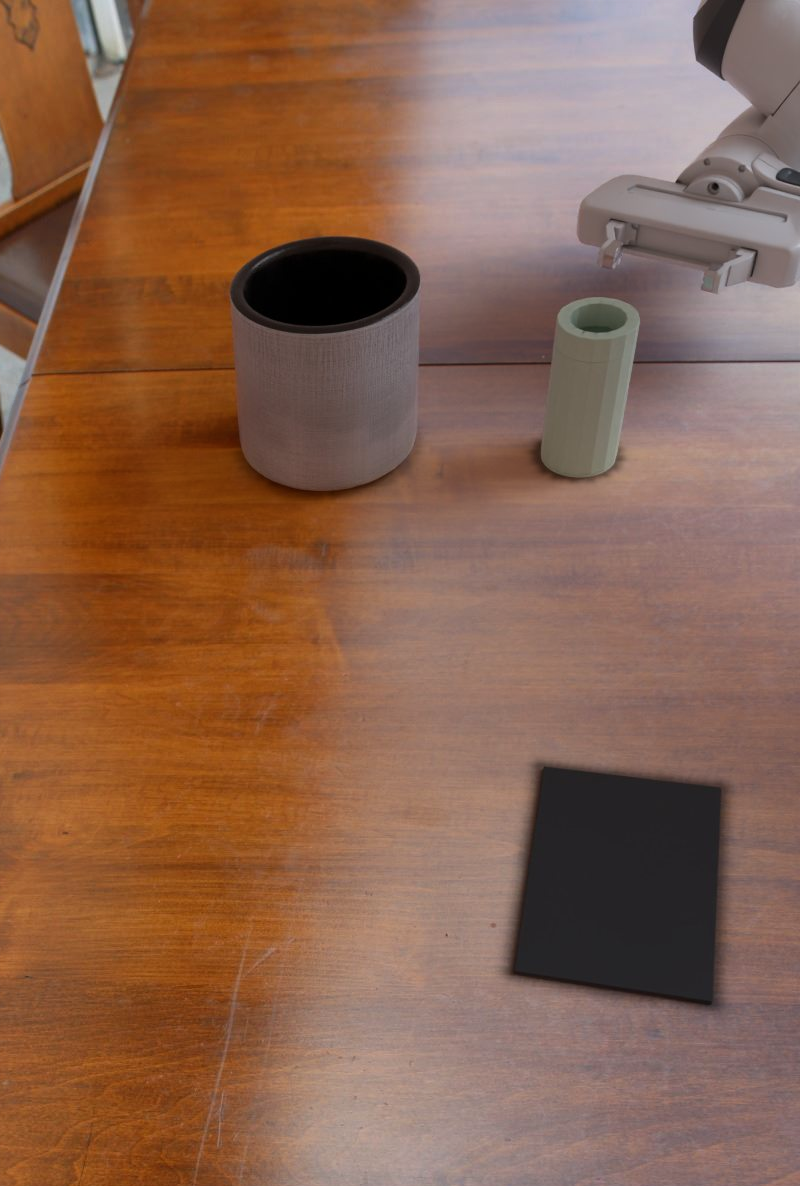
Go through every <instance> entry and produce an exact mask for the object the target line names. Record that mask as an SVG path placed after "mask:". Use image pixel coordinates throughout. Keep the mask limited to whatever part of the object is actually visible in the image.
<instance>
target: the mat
mask: <svg viewBox="0 0 800 1186" xmlns="http://www.w3.org/2000/svg"><path fill="white" fill-rule="evenodd" d="M721 802H722V787H721V786H713V785H712V786H711V785H703V784H695V783H687V782H686V783H685V782H677V781H670V780H661V779H653V778H645V777H636V776H628V775H619V774H612V773H603V772H594V771H587V770H586V771H585V770H578V769H577V770H576V769H569V768H560V767H554V766H553V767H551V766H543V769H542V777H541V784H540V791H539V797H538V803H537V811H536V817H535V823H534V831H533V836H532V837H533V838H532V846H531V850H530V851H531V853H530V858H529V864H528V871H527V872H528V873H527V877H526V879H527V880H526V886H525V893H524V900H523V906H522V912H521V920H520V926H519V933H518V939H517V948H516V954H515V960H514V967H513V974H514V975H520V976H526V977H532V978H539V979H544V980H545V979H546V980H551V981H559V982H566V983H571V984H577V985H584V986H589V987H596V988H604V989H609V990H616V991H622V992H629V993H635V994H641V995H642V994H643V995H649V996H655V997H661V998H667V999H675V1000H681V1001H687V1002H693V1003H699V1004H706V1005H712V1004H713V1002H714V1001H713V1000H714V999H713V998H714V977H715V974H714V973H715V952H716V951H715V950H716V927H717V926H716V925H717V905H718V903H717V900H718V879H719V878H718V877H719V855H720V853H719V851H720V827H721V826H720V825H721V806H722V805H721V804H722V803H721Z"/></svg>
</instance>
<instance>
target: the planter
mask: <svg viewBox="0 0 800 1186" xmlns="http://www.w3.org/2000/svg"><path fill="white" fill-rule="evenodd" d="M228 293H229V304H230V306H229V307H230V317H231V318H230V319H231V328H232V329H231V332H232V344H233V361H234V376H235V377H234V378H235V391H236V407H237V423H238V434H239V435H238V436H239V443H240V447H241V452H242V455H243V457H244V459H245V460H246V462H247V463H248V464H249V465H250V466H251V468H252V469H253V470H254V471H256V472H257V473H259V474H260V475H262V476H263V477H265V478H266V479H269V480H270V481H272V482H273V483H276V484H280V485H282V486H285V487H289V488H292V489H295V490H302V491H311V492H332V491H333V492H334V491H343V490H348V489H353V488H356V487H359V486H363V485H365V484H366V485H367V484H370V483H371V482H374V481H377V480H378V479H380V478H383V476H385V475H388V474H389V473H391V472H392V471H393V470H395V469H396V468H397V467H398V466H400V465H401V464H402V463H403V462H404V461H405V460H406V459H407V458H408V456H409V455H410V454H411V452H412V450H413V448H414V446H415V443H416V439H417V432H418V423H419V422H418V419H419V372H420V371H419V370H420V369H419V367H420V365H419V363H420V361H419V360H420V328H421V327H420V325H421V295H422V294H421V293H422V276H421V272H420V269H419V267H418V266H417V264H416V263H415V261H414V260H413V259H412V258H411V257H410V256H409V255H408V254H406V253H405V252H403V251H402V250H400V249H398V248H396V247H395V246H392V245H390V244H387V243H385V242H381V241H378V240H374V239H370V238H366V237H358V236H348V235H327V236H326V235H325V236H324V235H323V236H314V237H308V238H301V239H297V240H294V241H289V242H286V243H282V244H280V245H276V246H275V247H271V248H270V249H267V250H265V251H263V252H260V253H259V254H257V255H256V256H254V257H253V258H251V259H249V260H248V261H247V262H246V263H245V264H244V265H243V266H241V267H240V269H239V270H238V271H237V272H236V274H235V275H234V276H233V278H232V280H231V282H230V286H229V292H228Z"/></svg>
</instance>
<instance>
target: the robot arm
mask: <svg viewBox="0 0 800 1186" xmlns="http://www.w3.org/2000/svg"><path fill="white" fill-rule="evenodd" d="M692 41H693V50H694V56H695V62H697V63H698V64H700V65H701V66H702V67H704V68H705V69H706V70H708V71H709V72H711V73H712V74H714V75H715V76H716V77H718V78H719V79H720V80H722V81H724V82H726V83H728V84H729V85H730V86H731V87H732V88H733V89H734V90H736V91H737V92H738V93H739V94H740V95H741V96H742V97H743V98H745V99H746V100H747V101H748V102H749V103H750V104H751V105H750V106H749V107H747V108H745V109H744V110H743V111H742V112H741V113H740V114H738V115H737V116H736V117H735V118H734V119H733V120H732V121H731V122H730V123H729V124H727V125H726V126H725V128H724V129H723V130H722V131H721V132H720V133H719V134H718V136H717V137H716V139H715V140H714V141H713V142H711V143H709V144H708V145H707V146H706V147H705V148H704V149H703V150H702V151H701V152H700V153H699V154H698V155H697V156H696V157H695V158H694V159H693V160H692V161H691V162H690V163H689V164H688V165H687V167H685V168H684V170H682V172H681V173H680V174H679V175H678V177H677V178H676V180H675V182H674V181H670V180H669V181H668V180H664V179H658V178H653V177H648V176H645V175H644V176H643V175H638V174H621V175H618V176H614V177H612V178H611V179H609V180H607V181H606V182H604V183H603V184H601V185H600V186H598V187H597V188H595V189H594V190H592V191H591V192H590V193H588V194H587V195H586V196H585V197H584V198H583V199H582V200H581V202H580V204H579V209H578V214H577V220H576V229H575V231H576V236H577V239H578V241H579V242H580V243H581V244H582V245H587V246H591V247H594V248H595V247H596V248H599V251H598V256H597V263H596V264H597V267H599V268H602V269H603V268H604V269H608V270H613V271H614V270H615V269H616V267H619V265H620V264H621V262H622V257H623V255H622V254H626V255H630V256H635V257H640V258H644V259H648V260H653V261H657V262H660V263H661V262H662V263H666V264H669V265H670V264H671V265H673V266H678V267H682V268H687V269H693V270H697V271H699V272H700V271H702V272H704V274H703V277H702V281H703V283H702V284H701V285H700V290H701V291H703V292H706V293H710V294H715V295H719V294H720V293H721V292H722V291H723V289H724V288H725V287H726V288H728V287H732V286H735V285H738V284H742V283H745V282H749V283H754V284H758V285H762V286H767V287H771V288H774V289H785V288H789V287H793V286H794V285H796V284H797V282H798V281H799V280H800V0H701V1H700V3H699V5H698V7H697V10H696V13H695V14H694V16H693V18H692Z"/></svg>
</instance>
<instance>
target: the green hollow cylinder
mask: <svg viewBox="0 0 800 1186" xmlns="http://www.w3.org/2000/svg"><path fill="white" fill-rule="evenodd" d="M640 325H641V318H640V314H639V311H638V310H637V309H636V308H635V307H634V306H633V305H632V304H631V303H628V302H625V301H622V300H620V299H617V298H612V297H606V296H605V297H604V296H592V297H585V298H581V299H578V300H573V301H571V302H569V303H568V304H566V305H564V306H563V307H561V308H560V310H559V312H558V314H557V315H556V321H555V330H554V338H553V346H552V354H551V362H550V371H549V379H548V386H547V388H548V389H547V395H546V404H545V411H544V421H543V428H542V436H541V445H540V458H541V459H540V460H541V462H542V464H543V465H544V466H545V467H546V468H547V469H548V470H550V471H551V472H552V473H555V474H558V475H561V476H563V477H568V478H569V477H570V478H589V477H596V476H598V475H601V474H603V473H605V472H607V471H608V470H610V469H611V468H612V467H613V466H614V464H615V462H616V460H617V456H618V451H619V446H620V445H619V444H620V441H621V435H622V429H623V423H624V417H625V411H626V406H627V399H628V394H629V387H630V383H631V377H632V371H633V365H634V360H635V354H636V353H635V352H636V348H637V342H638V336H639V331H640Z"/></svg>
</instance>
